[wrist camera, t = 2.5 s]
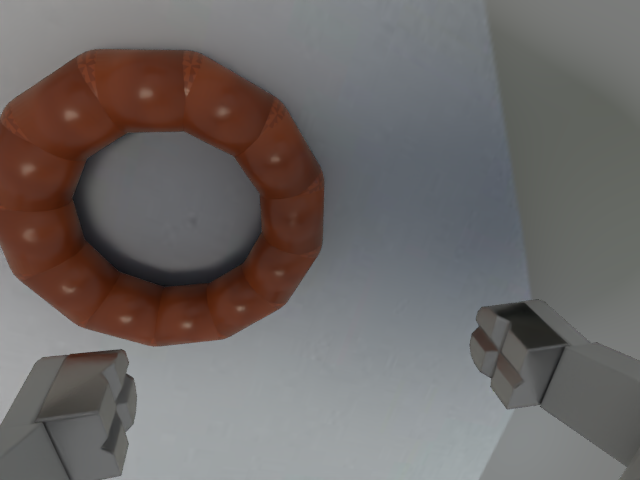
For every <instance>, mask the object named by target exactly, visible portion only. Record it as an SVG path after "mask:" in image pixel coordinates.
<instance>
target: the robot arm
mask: <svg viewBox="0 0 640 480" xmlns="http://www.w3.org/2000/svg"><path fill="white" fill-rule="evenodd" d="M476 321H477V323H478V325H479V327H478V328H477V329H476V330H475V331H474V332H473V333H472V335H471V339H470V344H469V345H470V352H471V357H472V359H473V361H474V364H475V365H476V367H477V368H478V370H479V371H480V372H481V373H483V374H485V375H486V376H488V377H490V378H491V386H490V387H491V388H492V389H493V391H494V392H495V393H496V395H497V396H498V398H499V399H500V400H501V402H502V403H503V405H504V406H505V407H506V409H514V408H521V407H528V406H535V405H541V406H540V407H541V408H543V409H544V410H546V411H547V412H548V413H550V414H551V415H553V416H554V417H556V418H557V419H558V420H560V421H561V422H563V423H564V424H566V425H567V426H569V427H570V428H571V429H573V430H574V431H576V432H577V433H579V434H580V435H581V436H583V437H584V438H586V439H587V440H589V441H590V442H592V443H593V444H595V445H596V446H598V447H599V448H600V449H602V450H603V451H605V452H606V453H607V454H609V455H610V456H612V457H613V458H615V459H616V460H618V461H619V462H621V463H622V464H623V465H625V466H626V467H627V468H626V469H625V471H624V472H623V474H622V475H621V477H620V479H619V480H640V361H639V360H637V359H635V358H632V357H630V356H628V355H625V354H623V353H621V352H618V351H616V350H614V349H611V348H609V347H607V346H604V345H601V344H599V343H597V342H596V343H590V342H589V341H588V340H587V339H586V338H585V337H584V336H583V335H581V334H580V333H579V332H578V331H577V330H576V329H575V328H574V327H572V326H571V325H570V324H569V323H568V322H567V321H566V320H565V319H563V318H562V317H561V316H560V315H559V314H558V313H557V312H556V311H554V310H553V309H552V308H551V307H550V306H549V305H548V304H546V302H544V301H541V300H539V299H536V300H528V301H521V302H518V303H517V302H516V303H508V304H500V305H492V306H484V307H481V309H480V310H479V311H478V313H477V316H476ZM128 365H129V361H128V358H127V355H126V352H125V351H124V350H122V349H119V350H108V351H98V352H87V353H77V354H70V355H61V356H51V357H42V358H41V359H40V360H38V361H37V362H36V363H35V364H34V366H33V368H32V370H31V372H30V373H29V375H28V377H27V379H26V380H25V382H24V384H23V386H22V388H21V389H20V391H19V393H18V395H17V396H16V398H15V400H14V402H13V404H12V405H11V407H10V409H9V411H8V412H7V414H6V416H5V418H4V420H3V421H2V423H1V425H0V480H102V479H107V478H112V477H117V476H121V475H122V470H123V466H124V462H125V458H126V454H127V449H128V445H129V443H128V440H127V436H126V433H125V432H126V431H127V430H128V429H129V428H130V427H131V426H132V425H133V424H134V419H135V414H136V404H137V394H136V386H135V382H134V378H133V377H131V376H130V375H128V374H127V373H126V372H127V368H128Z"/></svg>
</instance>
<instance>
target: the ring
mask: <svg viewBox="0 0 640 480" xmlns="http://www.w3.org/2000/svg"><path fill="white" fill-rule="evenodd" d="M181 131H184V132H186V133H188V134H190V135H192V136H194V137H196V138H198V139H200V140H202V141H204V142H206V143H208V144H210V145H212V146H214V147H216V148H218V149H220V150H222V151H224V152H226V153H228V154H230V155H232V156H234V158H235V159H236V161H237V162H238V164H239V165H240V166H241V168H242V169H243V171H244V172H245V174H246V175H247V176H248V178H249V179H250V181H251V182H252V184H253V185H254V186H255V188H256V189H257V191H258V192H259V194H260V208H261V227H262V232H261V234H260V236H259V237H258V239H257V241H256V242H255V244H254V246H253V248H252V249H251V251H250V253H249V255H248V256H247V258H246V260H245V261H244V263H243V264H241V265H239V266H238V267H236V268H234V269H232V270H231V271H229V272H227V273H226V274H224V275H222V276H220V277H219V278H217V279H215V280H214V281H212V282H210V283H204V284H192V285H181V286H169V287H163V286H160V285H157V284H154V283H151V282H148V281H145V280H142V279H139V278H136V277H133V276H130V275H127V274H124V273H121V272H119V271H118V270H117V269H116V268H115V267H114V266H112V265H111V264H110V263H109V262H108V261H107V260H106V259H105V258H104V257H103V256H102V255H101V254H100V253H99V252H98V251H97V250H95V249H94V248H93V247H92V246H91V245H90V244H89V243H88V242H87V241H86V240H85V238H84V235H83V232H82V228H81V225H80V222H79V218H78V215H77V212H76V208H75V205H74V202H73V195H74V192H75V190H76V187H77V184H78V182H79V179H80V176H81V173H82V171H83V168H84V165H85V163H86V160H87V158H89V157H90V156H92V155H93V154H95V153H96V152H98V151H100V150H101V149H103V148H104V147H106V146H107V145H109V144H111V143H112V142H114V141H115V140H117V139H118V138H120V137H122V136H123V135H125V134H126V133H134V132H181ZM323 213H324V176H323V172H322V170H321V168H320V166H319V164H318V162H317V161H316V159H315V157H314V155H313V154H312V152H311V150H310V148H309V147H308V145H307V143H306V142H305V140H304V138H303V136H302V135H301V133H300V131H299V129H298V128H297V126H296V124H295V122H294V121H293V119H292V117H291V116H290V114H289V112H288V110H287V109H286V107H285V106H284V105H283V103H282V102H281V101H280V100H278V99H277V98H276V97H274V96H273V95H271V94H270V93H268V92H266V91H265V90H263V89H261V88H259V87H258V86H256V85H254V84H253V83H251V82H249V81H247V80H246V79H244V78H242V77H241V76H239V75H237V74H236V73H234V72H232V71H230V70H229V69H227V68H225V67H224V66H222V65H220V64H218V63H217V62H215V61H213V60H212V59H210V58H208V57H206V56H204V55H202V54H200V53H198V52H194V51H189V50H132V49H94V50H90V51H86V52H84V53H82V54H80V55H79V56H77V57H75V58H74V59H72V60H71V61H69V62H68V63H66V64H65V65H63V66H62V67H60V68H59V69H58V70H56V71H55V72H53V73H52V74H50V75H49V76H47V77H46V78H44V79H43V80H41V81H40V82H38V83H37V84H35V85H34V86H32V87H31V88H29V89H28V90H26V91H25V92H23V93H22V94H20V95H19V96H17V97H16V98H14V99H13V100H12V101H11V102H9V103H8V104H7V105H6V107H5V108H4V110H3V112H2V114H1V117H0V245H1V248H2V250H3V252H4V255H5V257H6V259H7V262H8V264H9V267H10V269H11V270H12V272H13V274H14V275H15V276H16V277H17V278H18V279H19V280H20V281H21V282H23V283H24V284H25V285H26V286H28V287H29V288H30V289H31V290H33V291H34V292H35V293H36V294H38V295H39V296H40V297H42V298H43V299H44V300H45V301H47V302H48V303H49V304H50V305H52V306H53V307H54V308H56V309H57V310H58V311H59V312H61V313H62V314H63V315H64V316H66V317H67V318H68V319H69V320H71V321H72V322H73V323H75V324H76V325H78V326H80V327H83V328H85V329H89V330H93V331H97V332H100V333H104V334H108V335H111V336H115V337H119V338H122V339H126V340H130V341H133V342H137V343H141V344H144V345H148V346H167V345H176V344H185V343H195V342H204V341H213V340H221V339H225V338H228V337H230V336H232V335H234V334H236V333H237V332H239V331H241V330H243V329H244V328H246V327H248V326H250V325H251V324H253V323H255V322H257V321H259V320H260V319H262V318H264V317H266V316H267V315H269V314H271V313H273V312H275V311H276V310H278V309H280V308H281V307H283V306H284V305H285V304H286V303H287V302H288V300H289V299H290V297H291V296H292V294H293V293H294V291H295V290H296V288H297V287H298V285H299V283H300V282H301V280H302V279H303V277H304V276H305V274H306V273H307V271H308V270H309V268H310V267H311V265H312V264H313V262H314V261H315V259H316V258H317V256H318V254H319V253H320V250H321V247H322V241H323Z"/></svg>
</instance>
